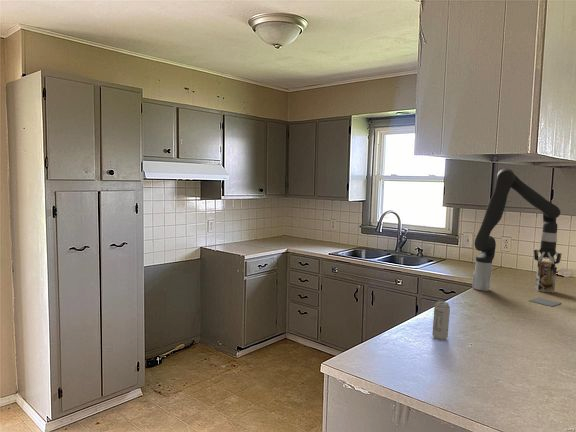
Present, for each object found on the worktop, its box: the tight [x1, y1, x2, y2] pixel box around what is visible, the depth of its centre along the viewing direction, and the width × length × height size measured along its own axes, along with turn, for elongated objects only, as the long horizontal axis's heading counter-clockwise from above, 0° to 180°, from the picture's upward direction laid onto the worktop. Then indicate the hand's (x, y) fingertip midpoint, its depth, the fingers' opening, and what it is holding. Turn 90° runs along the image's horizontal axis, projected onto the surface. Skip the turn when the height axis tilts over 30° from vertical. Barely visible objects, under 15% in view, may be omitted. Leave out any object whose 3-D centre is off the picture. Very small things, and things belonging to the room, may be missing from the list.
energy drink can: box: [431, 300, 451, 341], centre depth 174 cm, size 6×6×15 cm
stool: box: [538, 260, 553, 278], centre depth 242 cm, size 6×6×8 cm
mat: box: [528, 297, 562, 308], centre depth 236 cm, size 12×12×1 cm
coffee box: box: [534, 265, 558, 294], centre depth 262 cm, size 9×6×16 cm
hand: (545, 269), depth 242 cm, fingers closed on stool, 6 cm apart
